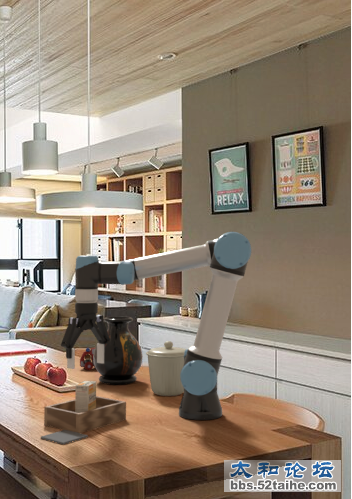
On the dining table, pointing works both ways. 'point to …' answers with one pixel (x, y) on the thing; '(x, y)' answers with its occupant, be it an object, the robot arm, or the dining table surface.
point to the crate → (84, 415)
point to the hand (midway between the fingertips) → (86, 365)
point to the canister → (166, 369)
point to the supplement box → (85, 396)
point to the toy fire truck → (87, 359)
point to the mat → (64, 436)
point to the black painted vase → (119, 354)
